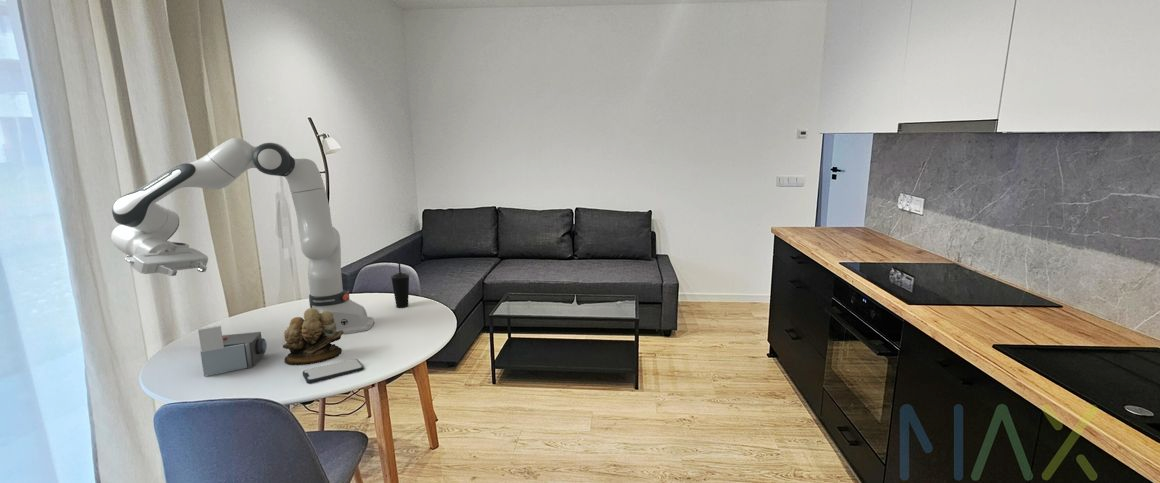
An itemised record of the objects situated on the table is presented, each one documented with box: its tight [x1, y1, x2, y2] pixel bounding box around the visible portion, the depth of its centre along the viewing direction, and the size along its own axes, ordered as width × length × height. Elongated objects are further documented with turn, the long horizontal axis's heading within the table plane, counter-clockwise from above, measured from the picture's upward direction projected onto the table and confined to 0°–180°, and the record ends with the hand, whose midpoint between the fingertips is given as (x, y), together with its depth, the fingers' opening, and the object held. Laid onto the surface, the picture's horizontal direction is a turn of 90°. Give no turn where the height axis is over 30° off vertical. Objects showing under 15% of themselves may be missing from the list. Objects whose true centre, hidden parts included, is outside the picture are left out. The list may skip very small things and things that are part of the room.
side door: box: [197, 324, 254, 377], centre depth 158 cm, size 12×1×15 cm, turn 121°
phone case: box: [302, 358, 364, 385], centre depth 159 cm, size 9×2×16 cm
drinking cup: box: [390, 260, 411, 309], centre depth 219 cm, size 8×8×20 cm
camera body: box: [222, 331, 267, 368], centre depth 165 cm, size 15×10×9 cm, turn 106°
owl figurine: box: [282, 307, 344, 366], centre depth 168 cm, size 18×12×17 cm, turn 119°
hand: (189, 271), depth 160 cm, fingers open, 8 cm apart
